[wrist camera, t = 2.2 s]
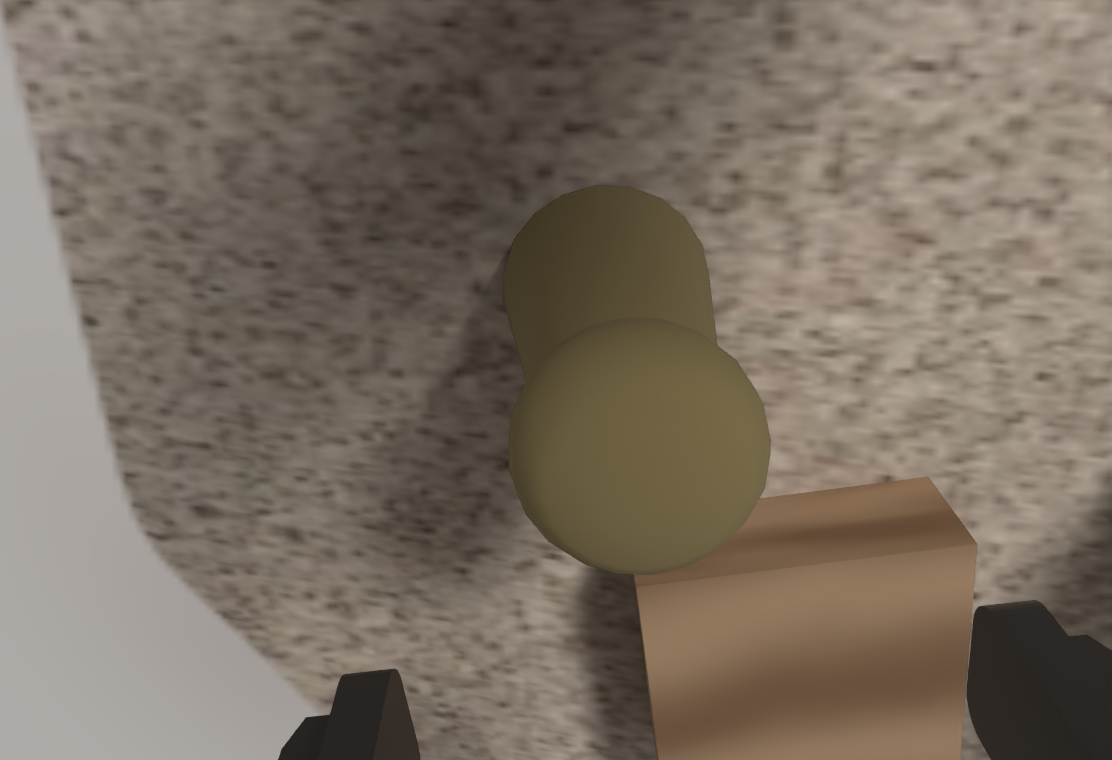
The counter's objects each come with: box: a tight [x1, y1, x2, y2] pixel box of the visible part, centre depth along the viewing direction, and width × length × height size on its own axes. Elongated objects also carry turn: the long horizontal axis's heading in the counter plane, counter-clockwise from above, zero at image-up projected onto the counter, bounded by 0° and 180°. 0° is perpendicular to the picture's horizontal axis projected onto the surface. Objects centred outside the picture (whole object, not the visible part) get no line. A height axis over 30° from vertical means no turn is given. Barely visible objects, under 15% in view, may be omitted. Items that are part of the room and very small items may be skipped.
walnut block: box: [633, 477, 977, 760], centre depth 30 cm, size 10×10×4 cm
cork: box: [504, 186, 771, 575], centre depth 21 cm, size 6×6×11 cm
